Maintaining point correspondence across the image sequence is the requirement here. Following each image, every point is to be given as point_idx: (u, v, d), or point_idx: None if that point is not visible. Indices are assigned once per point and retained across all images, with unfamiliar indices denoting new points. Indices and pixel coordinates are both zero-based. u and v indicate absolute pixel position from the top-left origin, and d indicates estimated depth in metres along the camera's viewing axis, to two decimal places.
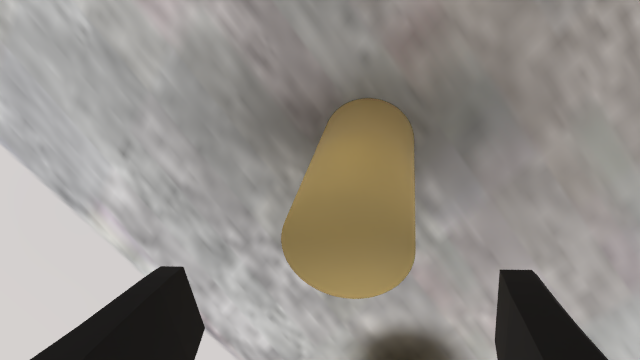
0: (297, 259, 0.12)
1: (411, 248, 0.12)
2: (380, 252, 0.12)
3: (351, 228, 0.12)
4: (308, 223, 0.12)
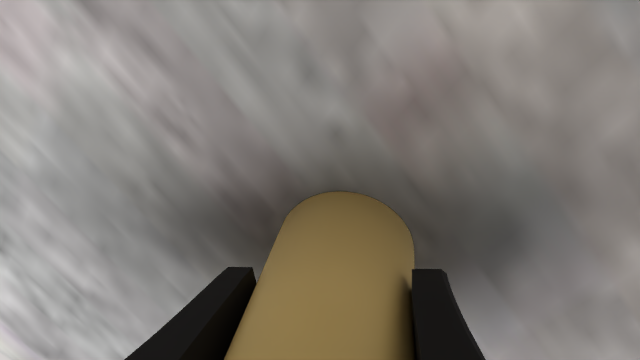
0: None
1: None
2: None
3: None
4: None
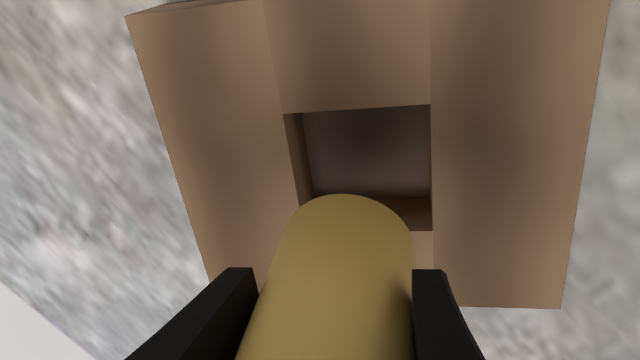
0: None
1: None
2: None
3: None
4: None
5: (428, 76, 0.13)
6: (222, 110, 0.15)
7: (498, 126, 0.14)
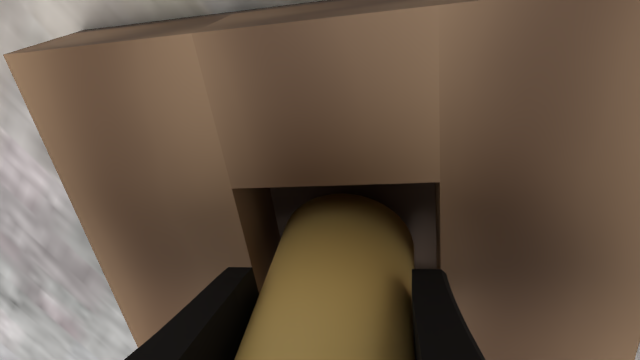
0: None
1: None
2: None
3: None
4: None
5: (437, 145, 0.09)
6: (149, 181, 0.11)
7: (538, 215, 0.10)
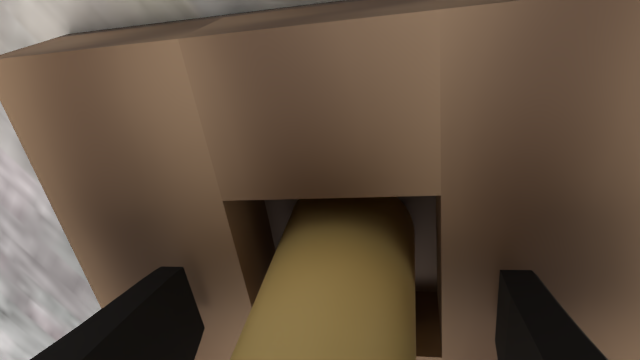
0: None
1: None
2: None
3: None
4: None
5: (438, 157, 0.09)
6: (136, 193, 0.10)
7: (544, 230, 0.09)
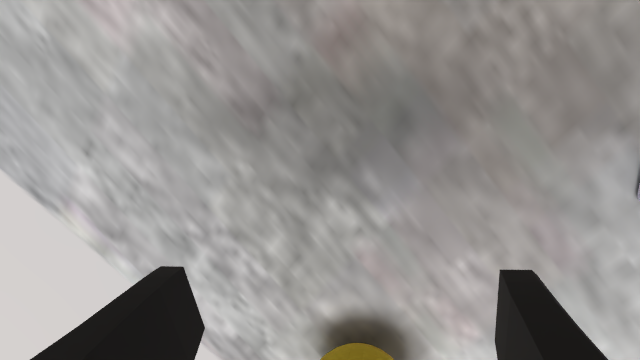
0: None
1: None
2: None
3: None
4: None
5: None
6: None
7: None
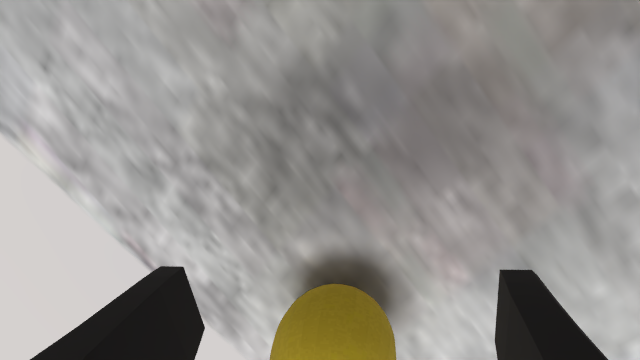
0: None
1: None
2: None
3: None
4: None
5: None
6: None
7: None
